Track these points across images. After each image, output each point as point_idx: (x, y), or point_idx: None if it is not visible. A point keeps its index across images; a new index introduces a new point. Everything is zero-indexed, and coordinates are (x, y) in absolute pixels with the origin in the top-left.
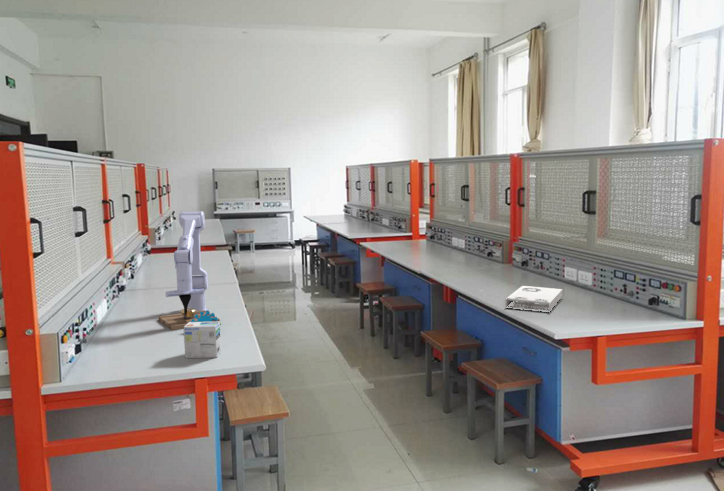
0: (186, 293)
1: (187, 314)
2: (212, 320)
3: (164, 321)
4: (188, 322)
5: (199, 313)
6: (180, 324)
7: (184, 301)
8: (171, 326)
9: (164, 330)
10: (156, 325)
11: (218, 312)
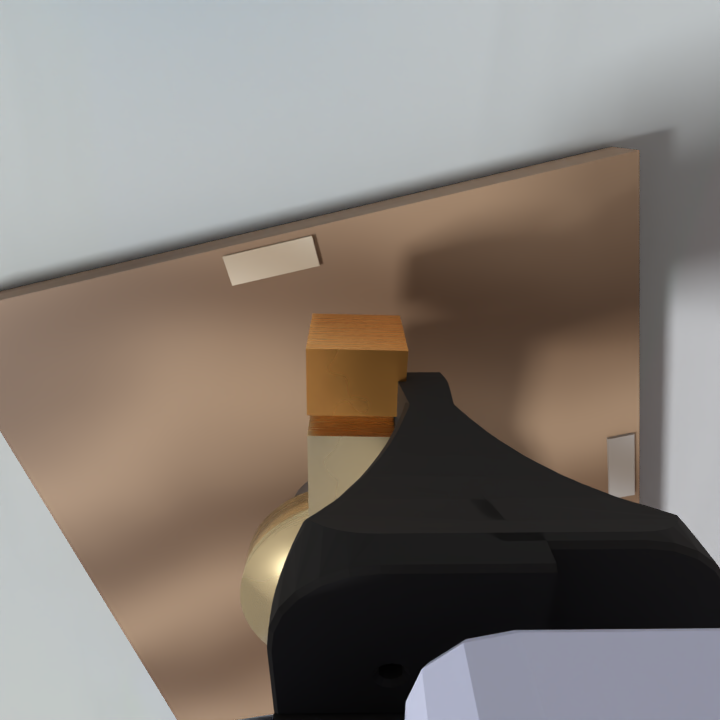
0: (599, 676)
1: (394, 332)
2: (33, 292)
3: (636, 478)
4: (375, 300)
5: (221, 636)
6: (498, 229)
7: (507, 487)
8: (635, 186)
9: (701, 191)
10: (703, 455)
11: (50, 684)
